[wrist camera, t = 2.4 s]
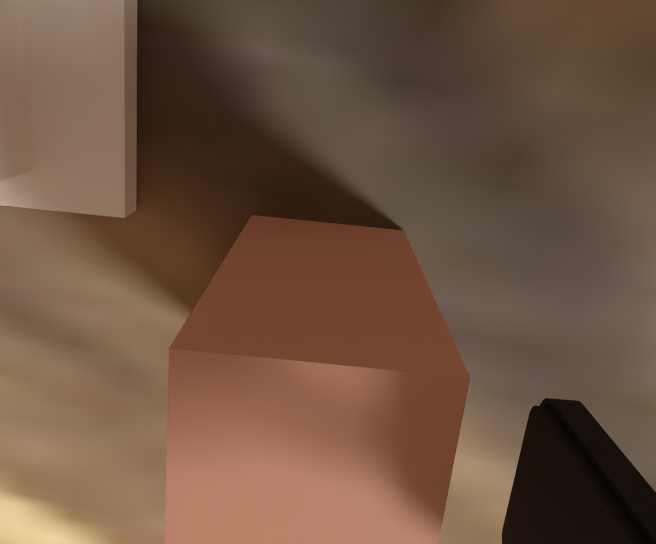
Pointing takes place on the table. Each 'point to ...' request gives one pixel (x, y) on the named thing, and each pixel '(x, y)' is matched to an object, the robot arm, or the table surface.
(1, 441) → the table surface
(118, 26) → the socket stand
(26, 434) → the table surface
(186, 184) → the table surface
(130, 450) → the table surface
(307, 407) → the peg
